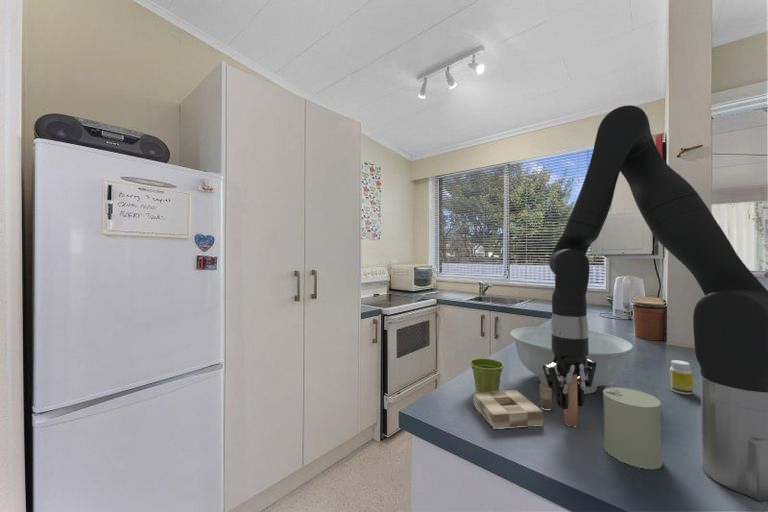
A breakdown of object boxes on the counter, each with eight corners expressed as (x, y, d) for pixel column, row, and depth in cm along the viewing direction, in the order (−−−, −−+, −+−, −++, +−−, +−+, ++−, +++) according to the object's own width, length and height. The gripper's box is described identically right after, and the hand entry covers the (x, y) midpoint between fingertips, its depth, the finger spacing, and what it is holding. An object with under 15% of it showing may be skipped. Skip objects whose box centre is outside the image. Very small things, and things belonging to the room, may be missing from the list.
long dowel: (580, 426, 73) (580, 374, 73) (569, 427, 73) (568, 375, 73) (572, 420, 76) (571, 370, 76) (561, 421, 76) (560, 371, 76)
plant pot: (472, 384, 98) (471, 356, 98) (504, 389, 94) (504, 360, 94) (468, 397, 89) (467, 366, 89) (503, 402, 86) (503, 370, 86)
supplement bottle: (697, 395, 88) (696, 365, 88) (677, 394, 89) (676, 364, 89) (684, 388, 93) (683, 359, 93) (665, 387, 94) (665, 359, 94)
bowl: (617, 373, 105) (616, 329, 105) (651, 419, 76) (650, 358, 76) (513, 361, 119) (512, 322, 119) (508, 396, 90) (507, 344, 90)
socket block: (543, 426, 74) (542, 411, 74) (493, 430, 72) (493, 414, 72) (516, 402, 85) (515, 389, 85) (473, 405, 84) (473, 392, 84)
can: (605, 436, 69) (604, 381, 69) (661, 451, 63) (660, 392, 63) (601, 456, 62) (600, 395, 62) (663, 477, 56) (662, 409, 56)
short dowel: (554, 410, 81) (554, 387, 81) (544, 411, 81) (543, 387, 81) (547, 405, 84) (547, 382, 84) (537, 406, 83) (537, 383, 83)
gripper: (557, 340, 69) (559, 419, 69) (607, 334, 73) (609, 409, 73) (532, 332, 76) (533, 403, 76) (579, 327, 80) (580, 395, 80)
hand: (570, 405), depth 74 cm, fingers open, 4 cm apart
